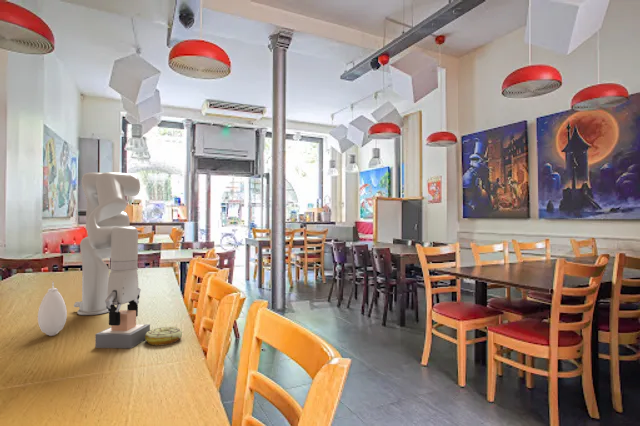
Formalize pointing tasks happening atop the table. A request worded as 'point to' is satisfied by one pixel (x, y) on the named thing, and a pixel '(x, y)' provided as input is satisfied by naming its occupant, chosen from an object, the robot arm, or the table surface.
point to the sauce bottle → (52, 312)
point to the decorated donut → (163, 335)
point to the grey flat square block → (121, 337)
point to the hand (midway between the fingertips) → (123, 320)
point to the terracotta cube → (125, 320)
